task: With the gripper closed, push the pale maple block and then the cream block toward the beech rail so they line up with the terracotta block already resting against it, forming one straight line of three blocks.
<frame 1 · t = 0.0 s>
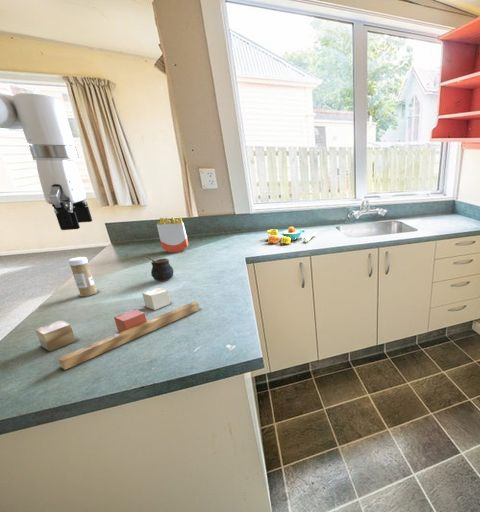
hand: (77, 225, 74), 30 cm above the worktop, tool pointing down, fingers open, 9 cm apart
toy juicer set: (292, 240, 178), on the worktop
sprinkles bottle: (88, 294, 105), on the worktop
cream block: (158, 305, 98), on the worktop
french fries container: (176, 251, 155), on the worktop
mate gourd: (163, 279, 119), on the worktop
rail: (141, 333, 82), on the worktop
terracotta block: (133, 330, 84), on the worktop
maple block: (59, 343, 77), on the worktop
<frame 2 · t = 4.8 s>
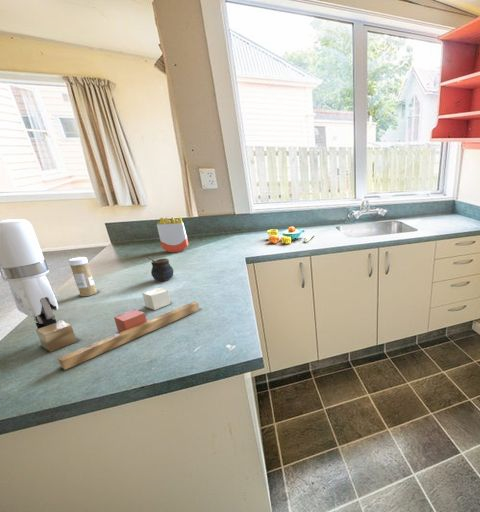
hand: (50, 333, 79), 2 cm above the worktop, tool pointing down, fingers closed
maple block: (59, 343, 77), on the worktop, touching gripper
everything else where it was.
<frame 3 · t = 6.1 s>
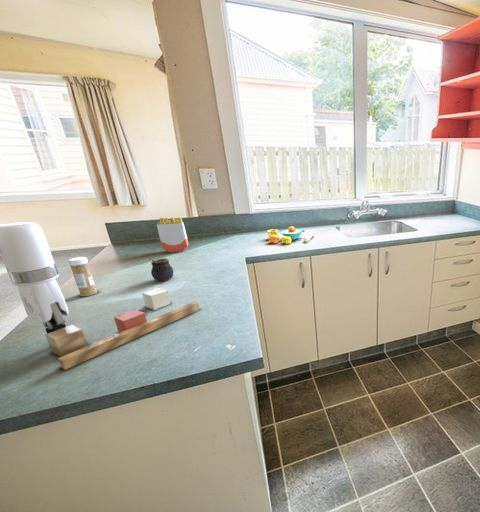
hand: (60, 339, 77), 1 cm above the worktop, tool pointing down, fingers closed
maple block: (70, 348, 75), on the worktop, touching gripper
everything else where it was.
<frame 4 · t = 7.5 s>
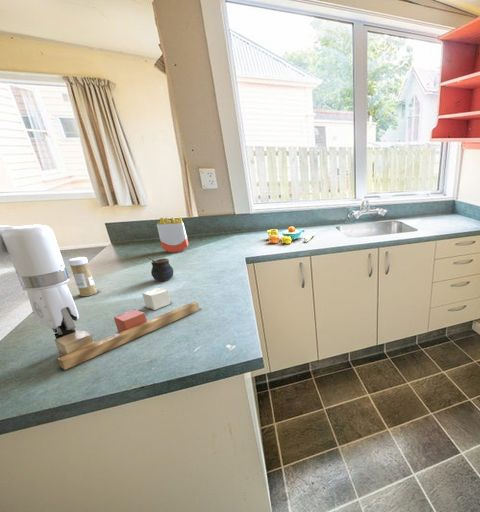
hand: (69, 345, 75), 1 cm above the worktop, tool pointing down, fingers closed
maple block: (79, 354, 73), on the worktop, touching gripper, rail
everything else where it was.
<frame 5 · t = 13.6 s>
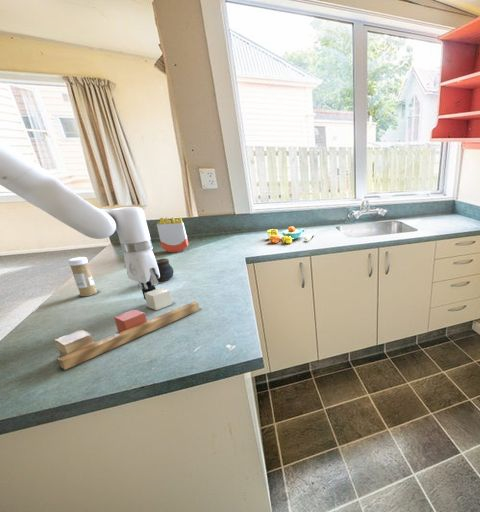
hand: (151, 298, 99), 2 cm above the worktop, tool pointing down, fingers closed
cream block: (160, 305, 98), on the worktop, touching gripper
maple block: (79, 354, 73), on the worktop
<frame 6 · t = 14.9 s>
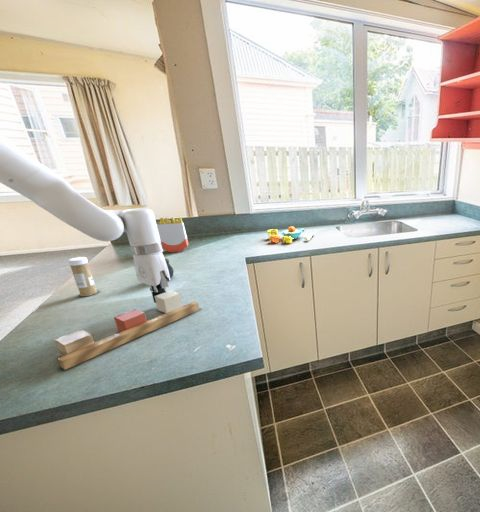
hand: (161, 301, 98), 1 cm above the worktop, tool pointing down, fingers closed
cream block: (170, 308, 96), on the worktop, touching gripper
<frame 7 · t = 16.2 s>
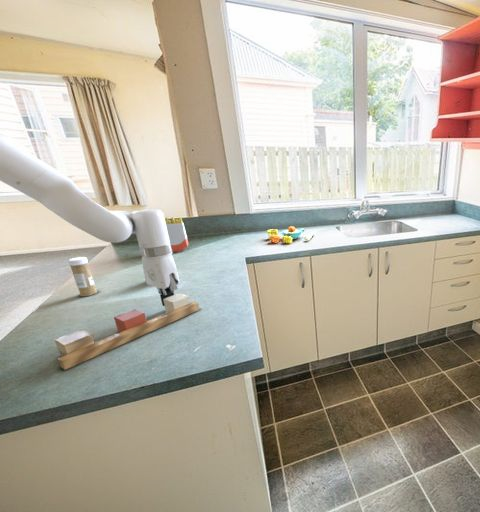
hand: (169, 304, 96), 1 cm above the worktop, tool pointing down, fingers closed
cream block: (179, 311, 94), on the worktop, touching gripper, rail
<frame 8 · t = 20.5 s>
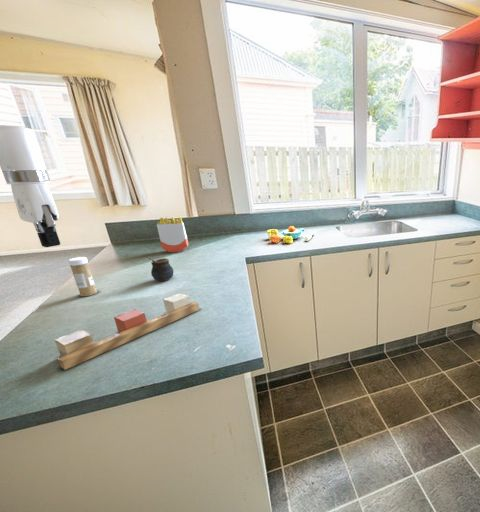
hand: (51, 245, 82), 23 cm above the worktop, tool pointing down, fingers closed
cream block: (179, 311, 94), on the worktop
at the end: maple block 0.2 cm from the target spot, on the worktop; cream block 0.4 cm from the target spot, on the worktop; terracotta block moved 0.0 cm from its start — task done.
